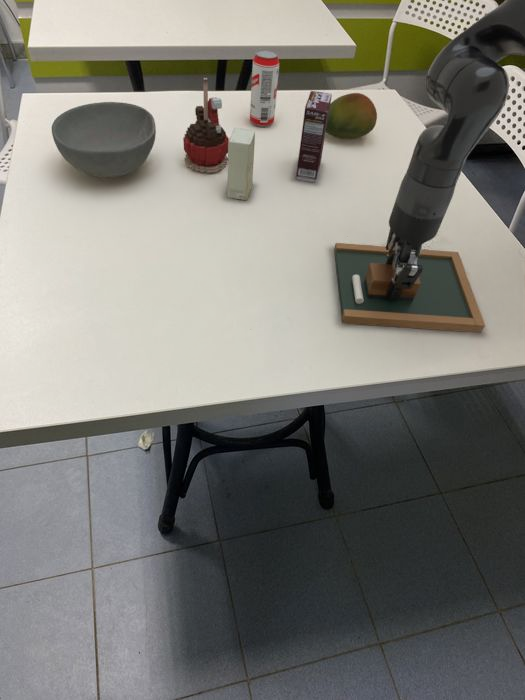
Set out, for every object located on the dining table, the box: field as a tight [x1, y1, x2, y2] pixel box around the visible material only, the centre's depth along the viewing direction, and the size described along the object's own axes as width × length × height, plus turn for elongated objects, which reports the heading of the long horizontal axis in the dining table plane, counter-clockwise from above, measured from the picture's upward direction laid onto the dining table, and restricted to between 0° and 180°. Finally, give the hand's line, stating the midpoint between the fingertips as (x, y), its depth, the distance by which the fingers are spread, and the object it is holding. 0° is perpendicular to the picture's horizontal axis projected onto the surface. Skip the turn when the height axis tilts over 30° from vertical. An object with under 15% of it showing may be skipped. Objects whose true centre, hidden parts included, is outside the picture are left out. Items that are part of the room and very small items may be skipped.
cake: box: [182, 77, 230, 173], centre depth 104 cm, size 11×9×18 cm
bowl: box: [51, 101, 157, 178], centre depth 103 cm, size 20×20×10 cm
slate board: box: [333, 242, 486, 333], centre depth 88 cm, size 24×19×2 cm
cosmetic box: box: [226, 127, 256, 201], centre depth 100 cm, size 6×4×12 cm
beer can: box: [249, 48, 280, 128], centre depth 119 cm, size 6×6×16 cm
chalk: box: [352, 274, 364, 304], centre depth 85 cm, size 1×6×1 cm, turn 179°
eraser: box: [365, 263, 420, 301], centre depth 85 cm, size 8×4×4 cm, turn 89°
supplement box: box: [295, 90, 333, 183], centre depth 106 cm, size 9×5×16 cm, turn 168°
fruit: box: [326, 92, 378, 140], centre depth 120 cm, size 12×12×10 cm
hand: (389, 287), depth 86 cm, fingers closed on eraser, 4 cm apart
